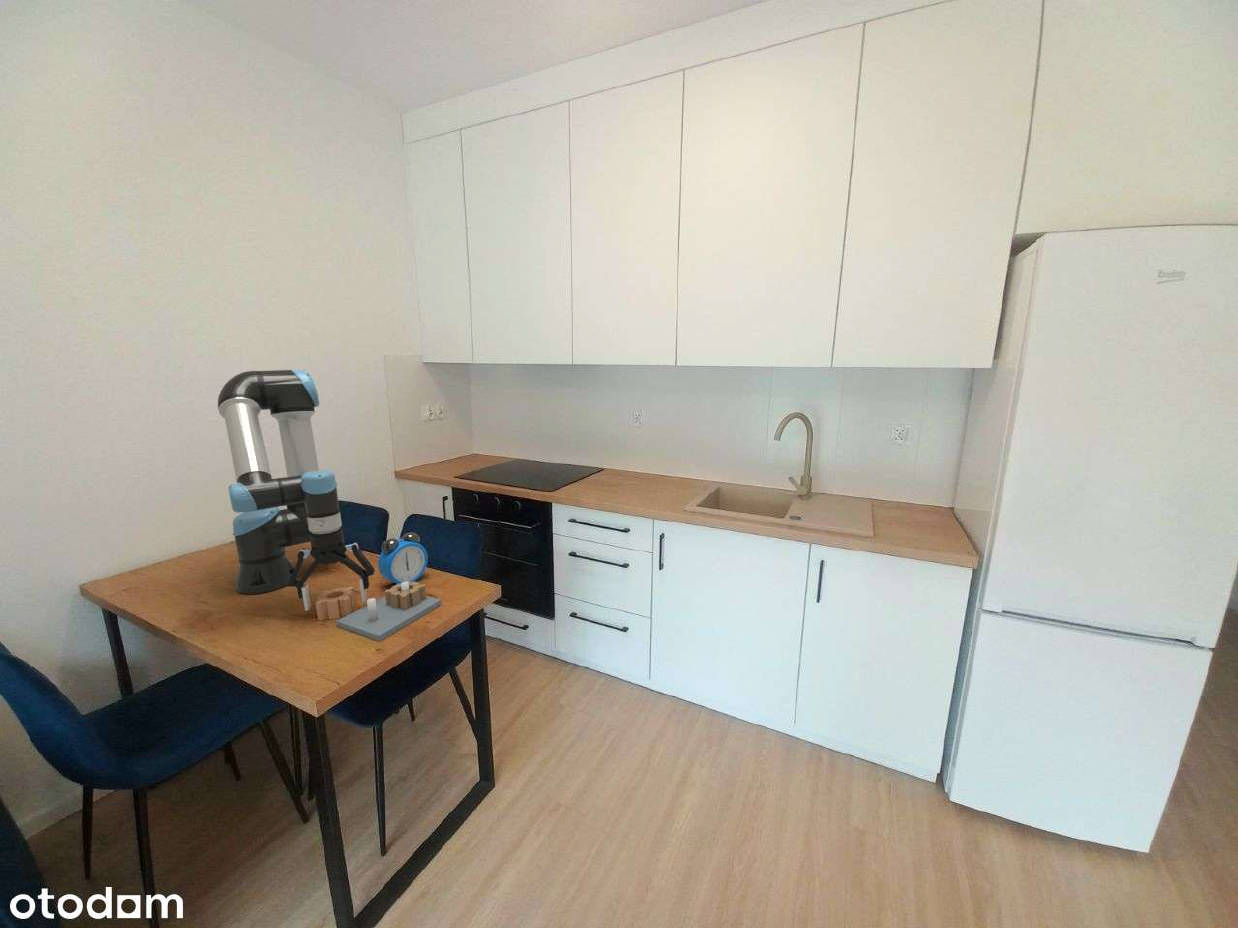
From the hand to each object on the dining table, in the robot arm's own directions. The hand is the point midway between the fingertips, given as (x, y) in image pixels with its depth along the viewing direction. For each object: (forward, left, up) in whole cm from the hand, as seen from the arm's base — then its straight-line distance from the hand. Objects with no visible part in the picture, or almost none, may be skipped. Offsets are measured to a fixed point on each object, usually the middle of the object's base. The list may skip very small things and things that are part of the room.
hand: (336, 604), depth 133 cm
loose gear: (0, 0, -2) cm, 2 cm away
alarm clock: (+2, +21, -3) cm, 21 cm away
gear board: (+15, +5, -2) cm, 16 cm away
